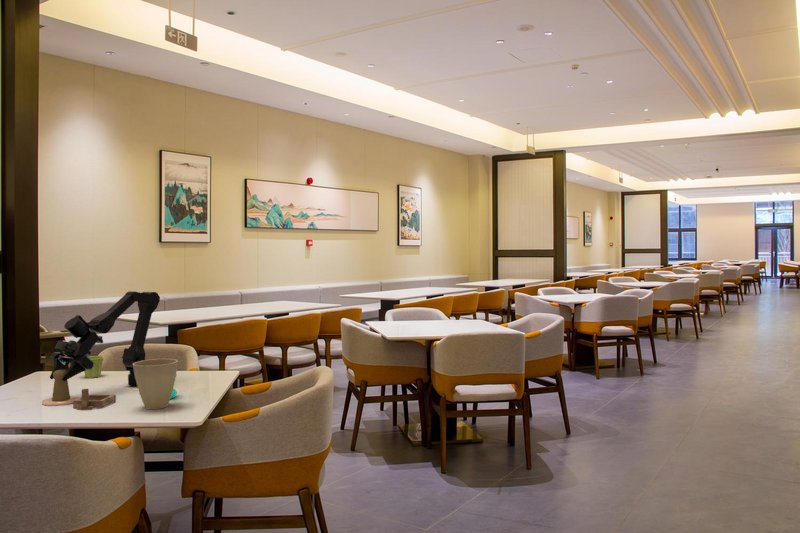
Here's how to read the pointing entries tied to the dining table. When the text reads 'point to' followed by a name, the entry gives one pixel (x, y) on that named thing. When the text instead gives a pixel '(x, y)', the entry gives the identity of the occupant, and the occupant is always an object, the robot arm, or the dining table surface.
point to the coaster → (51, 403)
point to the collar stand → (93, 401)
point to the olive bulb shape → (60, 387)
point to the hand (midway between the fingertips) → (56, 379)
